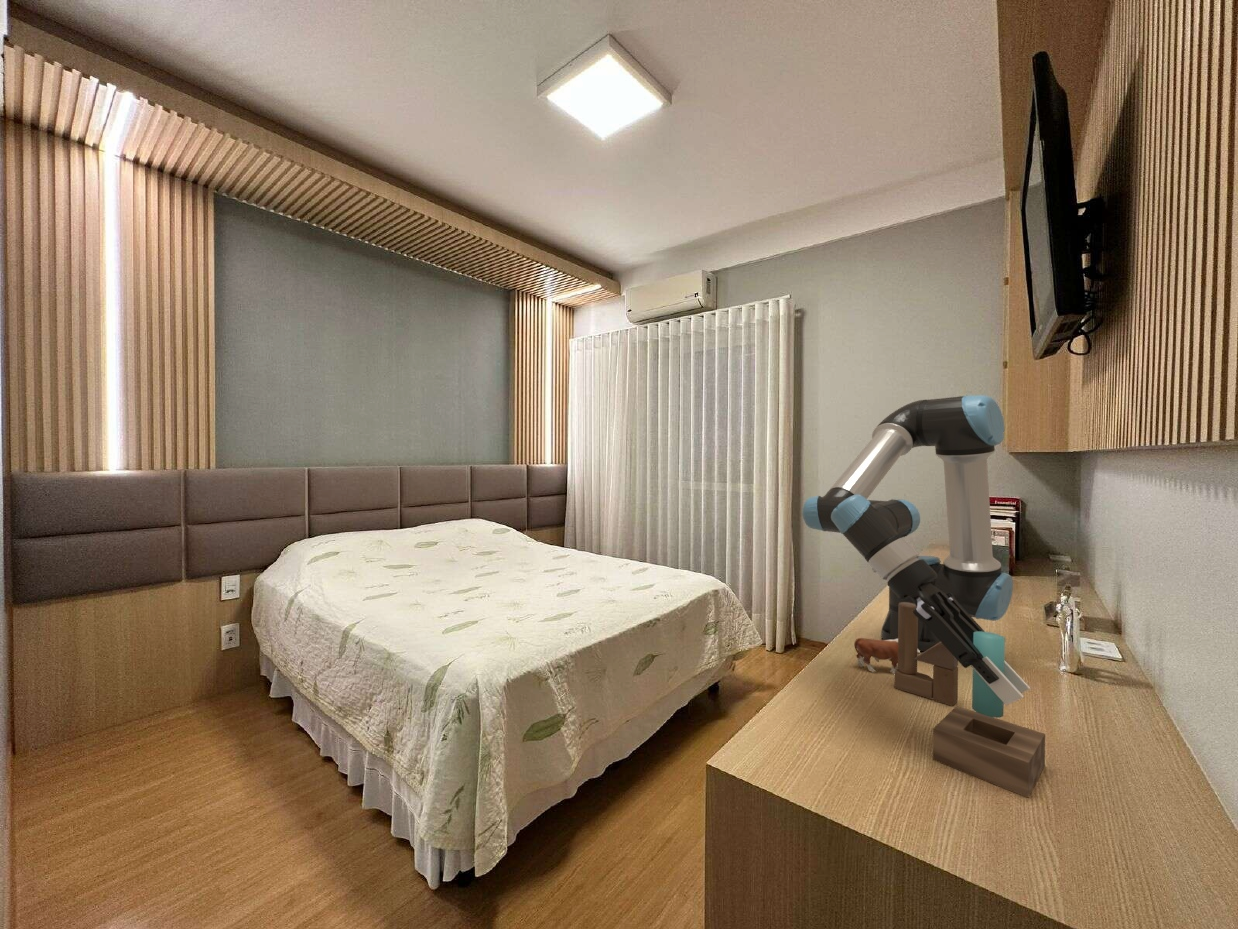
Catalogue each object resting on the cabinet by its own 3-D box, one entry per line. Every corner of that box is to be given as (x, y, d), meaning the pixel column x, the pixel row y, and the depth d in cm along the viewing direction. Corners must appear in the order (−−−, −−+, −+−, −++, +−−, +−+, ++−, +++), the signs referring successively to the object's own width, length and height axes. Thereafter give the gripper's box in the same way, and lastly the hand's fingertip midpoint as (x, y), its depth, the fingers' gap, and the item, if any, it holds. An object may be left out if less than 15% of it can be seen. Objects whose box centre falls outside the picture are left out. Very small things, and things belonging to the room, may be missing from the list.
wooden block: (952, 707, 98) (954, 615, 98) (893, 688, 106) (894, 603, 106) (958, 701, 101) (959, 611, 101) (899, 683, 108) (901, 600, 108)
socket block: (956, 734, 88) (956, 705, 88) (1044, 765, 79) (1045, 734, 79) (932, 759, 80) (933, 728, 80) (1028, 798, 71) (1028, 762, 71)
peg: (976, 702, 82) (977, 629, 82) (1006, 712, 79) (1007, 636, 79) (968, 710, 79) (970, 634, 79) (999, 720, 76) (1001, 641, 76)
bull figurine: (921, 680, 110) (922, 643, 110) (854, 671, 115) (855, 635, 115) (916, 672, 115) (917, 636, 115) (852, 663, 119) (852, 629, 119)
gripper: (904, 576, 96) (1010, 692, 84) (867, 588, 85) (981, 725, 73) (936, 552, 92) (1051, 671, 80) (901, 562, 81) (1028, 702, 69)
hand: (1018, 696), depth 76 cm, fingers closed on peg, 4 cm apart
